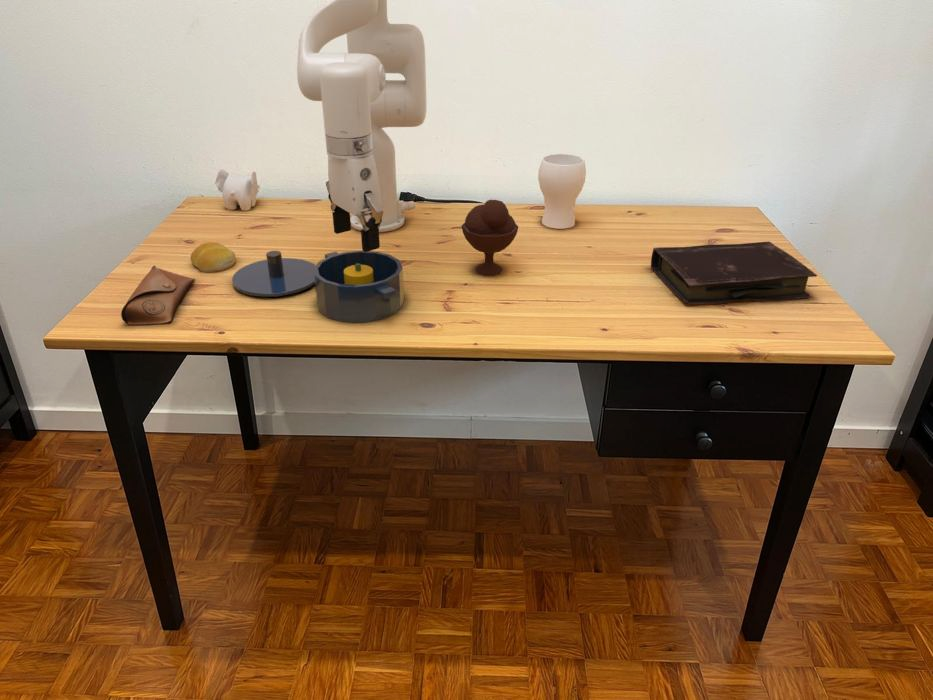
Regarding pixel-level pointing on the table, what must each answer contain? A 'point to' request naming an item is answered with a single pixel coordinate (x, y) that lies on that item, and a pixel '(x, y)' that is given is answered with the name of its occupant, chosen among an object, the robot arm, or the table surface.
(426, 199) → the table surface
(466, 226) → the ice cream bowl
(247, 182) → the elephant figurine
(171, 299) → the sunglasses case
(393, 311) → the pan
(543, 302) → the table surface
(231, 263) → the bread roll
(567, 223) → the cup
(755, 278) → the diary
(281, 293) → the lid
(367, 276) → the yellow cylinder with peg
